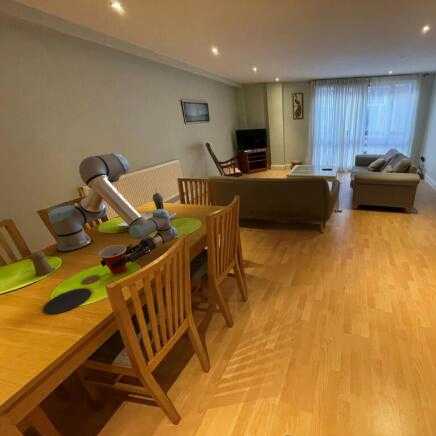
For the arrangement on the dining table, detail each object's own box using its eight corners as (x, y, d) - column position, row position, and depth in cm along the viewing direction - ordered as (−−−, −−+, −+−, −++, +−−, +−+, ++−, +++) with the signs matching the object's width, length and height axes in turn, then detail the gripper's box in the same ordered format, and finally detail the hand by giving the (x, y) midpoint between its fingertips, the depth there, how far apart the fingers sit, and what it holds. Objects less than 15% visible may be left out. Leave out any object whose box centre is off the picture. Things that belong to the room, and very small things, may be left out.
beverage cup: (155, 213, 190) (148, 189, 182) (157, 210, 196) (151, 187, 189) (165, 212, 192) (159, 188, 184) (166, 209, 198) (161, 186, 190)
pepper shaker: (52, 267, 122) (43, 248, 118) (54, 271, 118) (45, 252, 114) (35, 272, 118) (25, 253, 113) (37, 277, 114) (27, 257, 110)
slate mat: (35, 307, 96) (35, 307, 96) (78, 285, 108) (78, 285, 108) (56, 318, 90) (55, 318, 90) (98, 293, 103) (98, 293, 103)
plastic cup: (119, 279, 111) (111, 257, 107) (100, 276, 114) (92, 254, 109) (137, 266, 121) (131, 245, 116) (120, 263, 123) (113, 243, 119)
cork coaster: (79, 282, 111) (79, 281, 110) (93, 274, 116) (93, 274, 115) (87, 285, 108) (86, 284, 108) (101, 277, 113) (101, 277, 113)
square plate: (153, 232, 158) (152, 227, 157) (117, 230, 162) (115, 225, 161) (177, 216, 183) (176, 212, 181) (145, 215, 187) (144, 210, 186)
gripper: (165, 252, 128) (122, 277, 108) (140, 245, 135) (96, 267, 115) (162, 240, 125) (117, 262, 105) (137, 234, 132) (91, 254, 113)
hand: (106, 265), depth 110 cm, fingers closed on plastic cup, 6 cm apart
